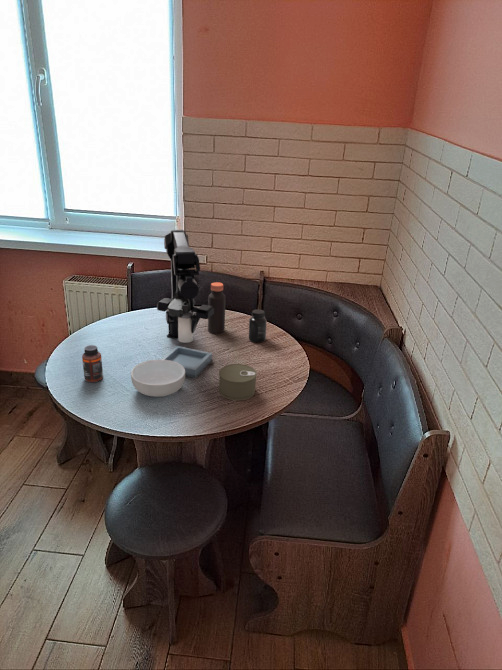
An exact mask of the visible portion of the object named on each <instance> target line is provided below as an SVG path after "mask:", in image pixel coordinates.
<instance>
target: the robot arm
mask: <svg viewBox="0 0 502 670" xmlns="http://www.w3.org/2000/svg"><path fill="white" fill-rule="evenodd" d="M163 241H164V242H163V243H164V249H165V251H166V254H167V256H168V258H169V259H170V270H171V271H170V278H171V279H170V280H171V282H170V283H171V297H170V298H168V297H164V298H162V299H161V300H160V301H158V302H157V304H156V309H157V311H160V312H163V313H164V312H165V321H166V323H167V325H168V334H167V335H166V337H167V338H171V339H176V340H178V317H182V316H183V315H184V314H188V313H189V312H193V316H191V317H190V318H191V320H192V324H191V332H192V333H193V334H194V332H195V330H196V328H197V326H198V323H199V322H200V320H201V319H202V320H208V318H209V317H211V316H212V315H213V314H214V308H213V307H212V306H209V305H208V304H201V306H195V305H196V303H197V302H196V301H195V298H196V297H197V295H198V294H199V292H200V291H199V286H198V284H197V281H196V280H195V276H199V275H200V272H201V266H200V258H199V256H198V253H196V251H195V250H194V248H192V247H190V245H189V242H190V241H189V236H188V234H187V232H186V230H184V229H172V230H170V232H169V233H167V234H166V235H164V239H163Z"/></svg>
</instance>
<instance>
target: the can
mask: <svg viewBox="0 0 502 670" xmlns="http://www.w3.org/2000/svg"><path fill="white" fill-rule="evenodd" d="M218 377H219V379H218V380H219V382H218V383H219V385H218V386H219V387H218V388H219V389H218V392H219V394H220V396H222V398H225V399H227V400H230V401H235V402H236V401H238V402H239V401H246V400H249V399H251V398H252V397H254V395H255V393H256V380H257V371H256V369H255V368H254V367H252V366H250V365H248V364H244V363H243V364H242V363H241V364H240V363H232V364H227V365H224V366H222V367H221V368H220V369H219V370H218Z"/></svg>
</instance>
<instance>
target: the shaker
mask: <svg viewBox="0 0 502 670" xmlns="http://www.w3.org/2000/svg"><path fill="white" fill-rule="evenodd" d="M191 316H193V312H189V313H188V314H184V315H183V316H182V317H178V339H177V340H178V342H180V343H184V344H185V343H186V344H188V343H191V342H193V340H194V333H192V332H191V324H192V320H191V318H190V317H191Z"/></svg>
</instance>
